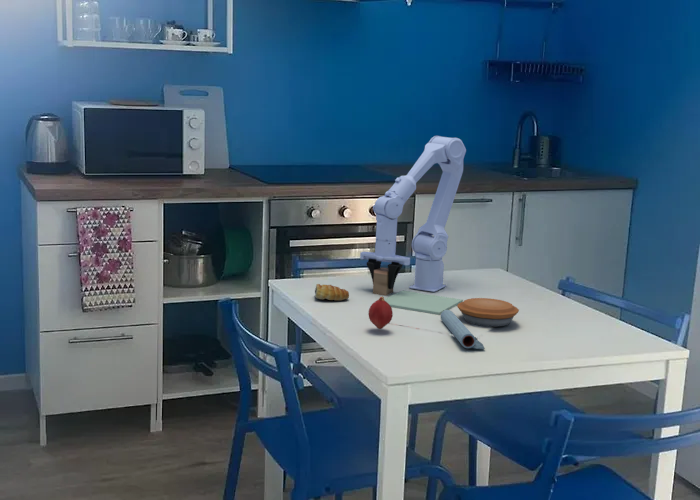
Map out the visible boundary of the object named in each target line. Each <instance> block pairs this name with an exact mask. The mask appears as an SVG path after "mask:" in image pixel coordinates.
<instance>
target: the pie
mask: <svg viewBox="0 0 700 500" xmlns="http://www.w3.org/2000/svg"><path fill="white" fill-rule="evenodd" d="M456 307H457V308H458V310H459V311H460V312H461V314H462V316H463V318H464V320H465V321H466V322H468V323H470V324H473V325H478V326H484V327H505V326H507V325H509V324H510V323H511V321H512V320H513V318H514V316H516V315H517V314H518V313H519V311H520V309H519V308H518V307H516V306H514V305H513V304H512V303H510V302H509V301H505V300H502V299H496V298H488V297H487V298H486V297H475V298H474V297H473V298H466V299H465V300H464V299H463V302H461V303H459V304H458V305H456Z"/></svg>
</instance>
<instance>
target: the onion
mask: <svg viewBox="0 0 700 500" xmlns="http://www.w3.org/2000/svg"><path fill="white" fill-rule="evenodd" d="M384 299H385V298H384V296H380V297H379V298H378V299H377V300H376V301H374V302H373V303H371V305H370V307H369V309H368V312H367V313H368V314H367V315H368V319H369V321H370V323H372V324H373V325H374V326H375V327H376V328H377V329H379V330H381V329H384V328H385V327H386V326H387V325H389V323H390V322H391V321H392V320H393V315H394V313H393V309H392V308H393V307H391V306H390V305H389V304H388V303H387V302H386V301H385V300H384Z"/></svg>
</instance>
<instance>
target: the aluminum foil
mask: <svg viewBox="0 0 700 500" xmlns="http://www.w3.org/2000/svg"><path fill="white" fill-rule="evenodd" d="M440 320H441V321H442V322H443V323H444V325H445V326H446V327H447V328H448V330H449V331H450V332H451V334H452V335H453V336H454V337H455V339H456V340H457V341H458V342H459V343H460V345H461V346H462V347H463V348H465V349H478V350H479V349H482V350H483V349H485V346H484V344H483V343H482V342H481V341H479V340H478V339H477V337H476V336H474V335H473V333H472V332H471V331H470V330H469V329H468V327H466V325H465V324H464V322H462V321H461V320H460V319H459V318H458V317H457V315H456V314H455V313H454V312H453V311H452V310H451V309H449V310H444V311H443V312H442V313H441V314H440Z"/></svg>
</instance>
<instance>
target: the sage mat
mask: <svg viewBox="0 0 700 500" xmlns="http://www.w3.org/2000/svg"><path fill="white" fill-rule="evenodd" d="M384 300H385V301H386V302H387V303H388V304H389V305H390V306H391V308H396V309H402V310H408V311H415V312H419V313H426V314H432V315H440V316H441V313H442V312H443V311H444V310H451V309H453V308H454V307H457V305H458V304H459V303H461V302H464V299H461V298H454V297H447V296H440V295H436V294H427V293H421V292H415V291H408V290H401V291H399V292H397V293H394V294H392V295H390V296H387V297H385V298H384Z"/></svg>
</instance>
